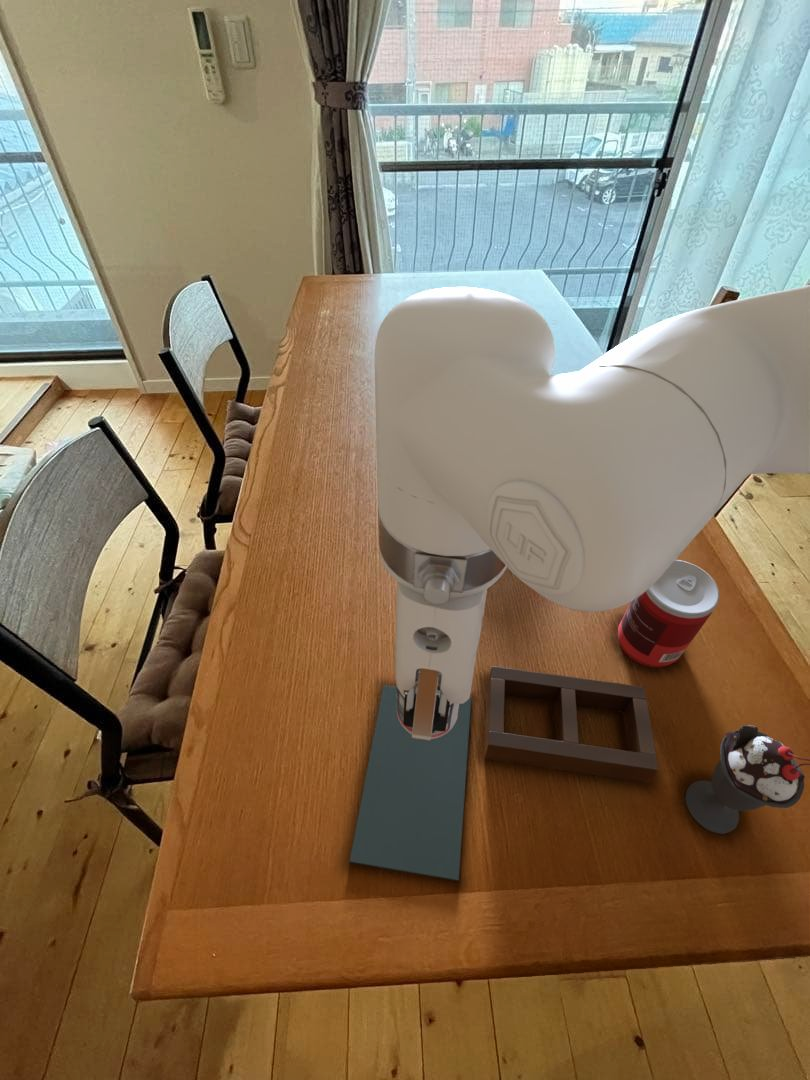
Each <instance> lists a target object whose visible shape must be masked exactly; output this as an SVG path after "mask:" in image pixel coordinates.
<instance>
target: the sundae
mask: <svg viewBox="0 0 810 1080" xmlns="http://www.w3.org/2000/svg"><path fill="white" fill-rule="evenodd" d="M719 750H720V753H719V755H720V759H719V761H718V763H717V764H716V766H715V768H714V770H713V773H712V775H711V780H710V781H709V780H697V781H695V782H693V783H691V784H690V785H689V786H688V788H687V790H686V792H685V803H686V807H687V809H688V811H689V814H690V815H691V816H692V818H693V819H694V820H695V821H696V823H698V825H700V826H701V827H703V828H704V829H706V830H707V831H710V832H712V833H716V834H729V833H731V832H732V831H734V830H735V829H736V828H737V826H738V824H739V821H740V814H739V812H748V811H755V810H757V809H759V808H762V807H764V806H768V807H771V808H778V809H788V808H791V807H793V806H794V805H796V804H797V803H798V802H799V801H800V799H801V797H802V795H803V793H804V790H805V778H806V777H805V774H804V773H803V771H802V769H801V766H810V758H804V757H803V758H802V757H799V756H797V755H795V753H794V751H793V749H792V748H791V747H790V746H785V745H784V743H782V742H780V741H778V740H776V739H774V738H772V737H771V736H769V735H768V734H766V733H764V732H761V731H759V727H758V726H757V725H754V724H753V725H752V724H746V725H745V724H742V725H740V727H739V729H736V730H734V731H727V732H726V733H725V736H724V737H723V738H722V740H721V743H720V747H719ZM794 758H795V759H798V760H801V761H808V762H809V763H807V762H805V763H804V762H803V763H799V764H798V762H797V761H796V760H795V759H794Z"/></svg>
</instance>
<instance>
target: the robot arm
mask: <svg viewBox="0 0 810 1080" xmlns="http://www.w3.org/2000/svg"><path fill="white" fill-rule="evenodd" d="M555 357H556V344H555V340H554V335H553V332H552V330H551V327H550V326H549V323H548V322H547V320H546V319H545V317H544V316H542V314H540V313H539V312H538V311H537V310H536V309H535V308H534V307H532V305H530V304H528V303H527V302H526V301H524V300H521V299H519V298H517V297H515V296H513V295H509V294H506V293H503V292H499V291H495V290H491V289H486V288H477V287H469V286H468V287H467V286H456V287H455V286H453V287H452V286H451V287H441V288H434V289H433V288H432V289H429V290H424V291H421V292H418V293H415V294H412V295H410V296H408V297H407V298H405V299H403V300H402V301H400V302H399V303H397V304H396V305H394V306H393V307H392V308H391V309H390V310H389V311H388V312H387V314H386V315H385V317H383V320H382V321H381V323H380V325H379V328H378V331H377V334H376V338H375V345H374V399H375V401H374V402H375V403H374V404H375V406H374V407H375V443H376V485H377V488H376V490H377V526H378V527H377V528H378V529H377V530H378V553H379V557H380V561H381V563H382V565H383V567H384V569H385V570H386V571H387V573H388V574H389V575H390V576H391V577H392V579H394V580H395V581H396V600H395V605H396V606H395V638H394V639H395V641H394V643H395V645H394V646H395V647H394V670H395V671H394V672H395V685H396V686H395V687H397V688H398V690H399V691H400V692H401V693H402V694H403V695H404V694H405V692H407V694H405V699H404V719H403V724H404V725H405V726H408V727H413V729H412V738H411V739H416V740H422V741H429V742H431V735H432V733H434V732H435V731H445V730H446V725H447V719H448V713H449V706H450V703H457V704H463V703H465V702H466V701H467V700H468V699H469V698H471V693H472V686H473V685H472V684H473V679H474V673H475V668H476V661H477V655H478V651H479V649H478V648H479V644H480V638H481V632H482V628H483V620H484V614H485V609H486V601H487V600H486V599H487V593H488V589H489V588H491V587H492V586H493V585H494V584H495V583H497V582H498V580H500V578H502V576H503V575H504V573H505V571H506V570H507V568H508V569H509V571H510V572H511V573H512V574H513V575H515V576H516V578H518V580H519V581H520V582H522V583H524V584H525V585H526V586H528V587H529V588H530V589H532V590H533V591H535V592H536V593H537V594H539V595H540V596H542V597H543V598H544V599H546V600H548V601H550V602H552V603H554V604H555V605H556V604H557V605H558V606H561V607H563V608H565V609H570V610H572V611H577V612H583V613H584V612H585V613H599V612H600V613H601V612H602V613H603V612H608V611H612V610H615V609H618V608H621V607H624V606H626V605H628V604H630V603H631V601H633V600H634V599H636V598H637V597H639V596H640V595H642V594H643V593H644V592H645V591H646V590H647V589H649V588H650V587H651V586H652V585H653V584H654V583H655V582H656V581H657V580H658V579H659V578H660V577H661V576H662V575H663V573H664V572H665V571H666V570H667V569H668V568H669V566H670V565H671V564H672V563H673V562H674V561H675V560H677V558H679V556H680V555H681V554H682V553H683V552H684V551H685V549H686V548H687V547H688V546H689V545H690V544H691V543H692V541H693V540H694V539H695V538H696V536H697V535H699V533H700V532H701V531H702V530H703V529H704V527H706V525H707V524H708V523H709V522H710V520H711V519H712V518H713V517H714V516H715V515H716V514H717V512H718V511H720V509H721V508H722V507H723V506H724V504H726V502H727V501H728V500H729V499H730V498H731V496H732V495H733V494H734V493H735V492H736V491H737V490H738V488H739V487H740V485H742V483H743V482H744V481H745V480H746V479H747V478H748V477H749V475H765V474H803V475H805V474H810V284H808V285H803V286H798V287H793V288H789V289H788V288H787V289H784V290H779V291H774V292H769V293H763V294H759V295H754V296H750V297H745V298H740V299H736V300H731V301H726V302H722V303H718V304H713V305H710V306H706V307H702V308H698V309H694V310H690V311H686V312H684V313H680V314H677V315H675V316H672V317H669V318H666V319H663V320H662V321H659V322H657V323H655V324H653V325H651V326H648V327H647V328H644V329H643V330H641V331H640V332H638V333H637V334H634V335H633V336H631V337H629V338H628V339H626V340H624V341H622V342H621V343H619V344H617V345H616V346H615V347H613V348H611V349H610V350H608V351H607V352H605V353H604V354H603V355H601V356H600V357H599V358H597V359H595V360H594V361H593V362H591V363H589V364H588V365H586V366H585V367H584V368H582V369H581V370H577V371H572V372H567V373H559V374H553V371H554V365H555V359H556V358H555ZM416 687H417V693H416ZM437 690H440V691H441V692H440V697H439V695H436V694H437Z"/></svg>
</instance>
